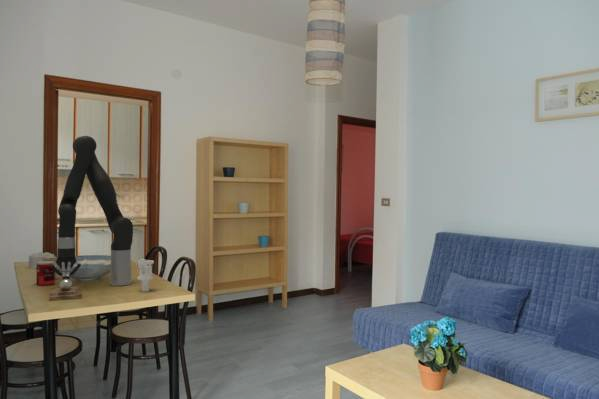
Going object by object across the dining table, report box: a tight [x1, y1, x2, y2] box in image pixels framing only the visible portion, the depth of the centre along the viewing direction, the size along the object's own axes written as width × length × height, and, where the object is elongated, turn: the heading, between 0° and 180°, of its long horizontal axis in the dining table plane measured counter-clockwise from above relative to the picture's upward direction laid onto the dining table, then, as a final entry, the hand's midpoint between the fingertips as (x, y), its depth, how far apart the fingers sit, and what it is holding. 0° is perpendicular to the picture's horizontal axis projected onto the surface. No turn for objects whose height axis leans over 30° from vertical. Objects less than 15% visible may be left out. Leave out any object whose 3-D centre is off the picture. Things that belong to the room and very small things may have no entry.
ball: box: [59, 278, 73, 290], centre depth 206 cm, size 5×5×5 cm
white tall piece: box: [137, 258, 155, 293], centre depth 214 cm, size 7×7×15 cm
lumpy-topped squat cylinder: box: [28, 251, 55, 270], centre depth 274 cm, size 10×13×9 cm
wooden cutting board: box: [48, 285, 82, 302], centre depth 203 cm, size 12×20×2 cm, turn 26°
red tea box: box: [42, 256, 58, 280], centre depth 236 cm, size 6×8×12 cm
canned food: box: [36, 261, 56, 287], centre depth 224 cm, size 8×8×11 cm
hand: (65, 284), depth 213 cm, fingers closed
